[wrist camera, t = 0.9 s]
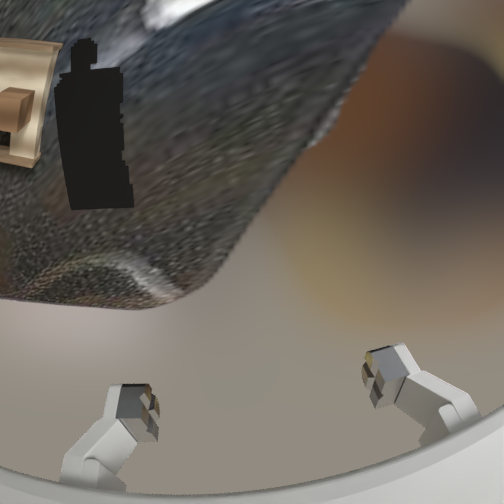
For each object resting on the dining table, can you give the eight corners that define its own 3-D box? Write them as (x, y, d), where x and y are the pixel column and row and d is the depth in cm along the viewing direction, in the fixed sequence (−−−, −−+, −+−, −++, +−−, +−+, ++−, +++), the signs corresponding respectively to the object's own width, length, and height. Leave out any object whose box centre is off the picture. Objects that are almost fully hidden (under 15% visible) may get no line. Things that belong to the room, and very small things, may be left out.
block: (9, 86, 31) (-7, 96, 27) (35, 90, 33) (20, 100, 29) (5, 116, 34) (-10, 128, 30) (30, 120, 36) (16, 133, 32)
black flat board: (71, 209, 50) (53, 44, 31) (72, 208, 51) (54, 43, 31) (134, 207, 53) (131, 34, 34) (134, 205, 54) (131, 33, 34)
